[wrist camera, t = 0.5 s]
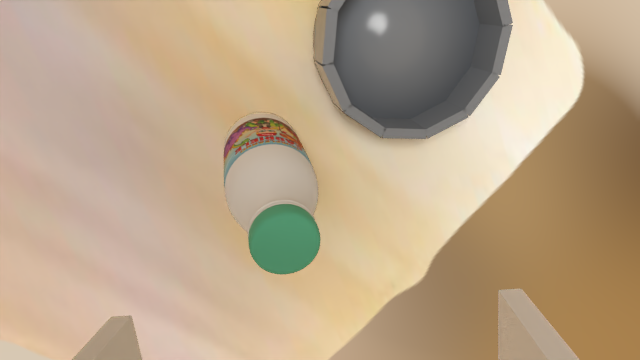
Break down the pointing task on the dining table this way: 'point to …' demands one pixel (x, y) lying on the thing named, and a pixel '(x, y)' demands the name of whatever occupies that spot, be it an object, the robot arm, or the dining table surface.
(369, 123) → the bowl
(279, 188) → the milk bottle
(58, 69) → the dining table surface
